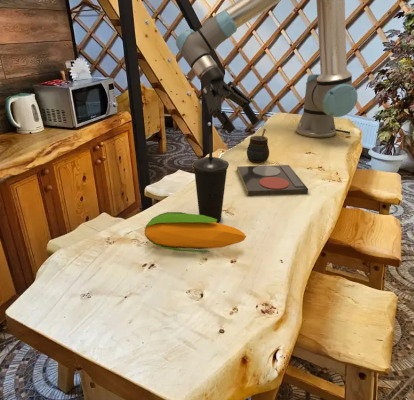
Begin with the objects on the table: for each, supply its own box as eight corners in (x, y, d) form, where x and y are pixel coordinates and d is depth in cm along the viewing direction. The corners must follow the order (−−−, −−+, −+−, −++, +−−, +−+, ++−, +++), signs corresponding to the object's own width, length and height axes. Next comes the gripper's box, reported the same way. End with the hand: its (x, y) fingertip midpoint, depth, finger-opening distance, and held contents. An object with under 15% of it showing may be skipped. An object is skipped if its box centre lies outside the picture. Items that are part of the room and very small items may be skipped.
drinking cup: (188, 215, 86) (186, 131, 77) (218, 209, 89) (219, 128, 80) (200, 231, 80) (200, 141, 71) (232, 224, 82) (236, 137, 74)
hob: (288, 169, 113) (288, 164, 113) (307, 194, 97) (308, 188, 96) (236, 171, 112) (237, 165, 111) (247, 196, 96) (248, 190, 95)
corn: (148, 202, 75) (247, 207, 73) (151, 233, 78) (245, 239, 76) (138, 222, 68) (246, 229, 66) (142, 255, 72) (244, 262, 70)
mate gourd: (242, 163, 118) (244, 132, 114) (250, 156, 124) (251, 127, 120) (264, 166, 115) (267, 135, 111) (271, 159, 122) (273, 129, 117)
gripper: (224, 77, 132) (257, 126, 130) (176, 85, 114) (214, 141, 112) (237, 62, 126) (272, 113, 124) (189, 69, 109) (228, 127, 107)
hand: (244, 127), depth 118 cm, fingers open, 13 cm apart
